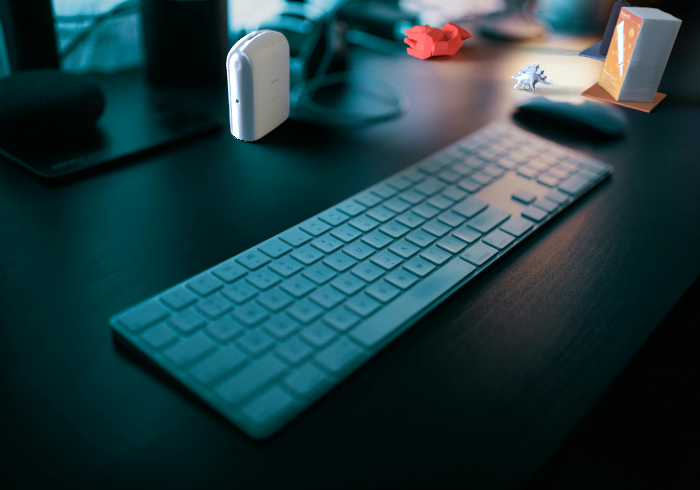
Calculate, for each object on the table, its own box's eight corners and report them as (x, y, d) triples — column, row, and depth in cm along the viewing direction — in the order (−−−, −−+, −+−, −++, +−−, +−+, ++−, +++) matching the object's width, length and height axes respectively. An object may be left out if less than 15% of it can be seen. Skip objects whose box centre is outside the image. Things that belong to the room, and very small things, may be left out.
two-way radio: (601, 49, 122) (624, -29, 113) (623, 53, 120) (649, -26, 112) (596, 55, 118) (620, -26, 109) (619, 59, 116) (645, -22, 108)
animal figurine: (478, 49, 117) (482, 23, 114) (445, 66, 106) (450, 37, 103) (426, 38, 122) (430, 12, 119) (390, 53, 111) (393, 25, 108)
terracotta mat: (665, 96, 100) (666, 94, 99) (649, 112, 92) (649, 110, 92) (601, 80, 105) (602, 78, 105) (581, 94, 97) (581, 93, 97)
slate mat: (662, 50, 126) (663, 49, 125) (638, 68, 113) (639, 67, 112) (606, 38, 131) (607, 37, 131) (578, 54, 118) (578, 53, 118)
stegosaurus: (548, 97, 95) (556, 69, 92) (507, 88, 98) (513, 60, 95) (552, 93, 97) (560, 65, 94) (511, 84, 100) (517, 57, 97)
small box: (596, 84, 102) (620, 5, 94) (632, 86, 102) (658, 8, 95) (616, 101, 95) (643, 17, 88) (653, 103, 95) (684, 20, 88)
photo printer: (255, 145, 73) (252, 45, 66) (226, 138, 74) (220, 38, 67) (293, 118, 81) (294, 26, 74) (266, 112, 82) (265, 21, 75)
